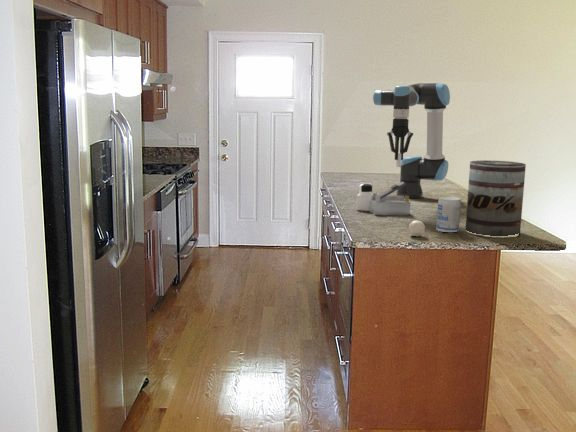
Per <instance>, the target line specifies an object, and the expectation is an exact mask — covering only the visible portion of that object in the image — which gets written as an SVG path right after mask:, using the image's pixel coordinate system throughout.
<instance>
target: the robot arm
mask: <svg viewBox="0 0 576 432" xmlns="http://www.w3.org/2000/svg"><path fill="white" fill-rule="evenodd" d="M372 100H373V104H374V105H375V106H381V107H382V106H391V107H392V106H393V111H392V112H393V113H392V117H393V119H392V128H391V130H390V131H389V132H387V133H386V135H387V136H388V141H389V145H390V147H389V148H390V152H392V153H394V160H395V161H396V163H395V164H396V165H395V166H396V168H400V175H399V179H400V180H399V183H401V182H404V183H405V184H406V185H405V186H403V187H401V188H400V189H398V190H396V195H395V196H404V199H405V196H409V199H420V198H423V197H424V192H423V188H422V185H421V180H426V181H427V180H428V181H436V182H437V181H442V182H443V180H445V178H446V176H447V174H448V171H449V161H448V160H446V157H445V155H444V154H443V139H444V137H443V132H444V131H443V130H444V127H443V126H444V111H445V110H446V109H447V106H448V105H449V104H450V100H451V93H450V89H449V87H448V85H447V84H445V83H439V82H438V83H437V82H434V83H432V82H428V83H427V82H426V83H422V82H420V83H414V84H408V85H396V86H395V87H394V89H386V90H384V89H383V90H382V89H380V90H378V89H377V90H375V91H374V93H373V97H372ZM416 105H419V106H420V105H421V106H422V105H423V108H424V110H425V111H426V153H425V155H423V157H422V155H421V156H420V155H419V156H418V155H416V156H405V157H404V154H405V153H407V152H408V150H409V146H410V142H411V139H412V138H413V136H414V133H413V132H411V131H410V128H409V122H410V121H409V117H410V107H414V106H416ZM393 136H394V137H395V138H394V139H393ZM406 136H407V137H406ZM405 137H406V138H405ZM405 139H406V141H405ZM394 140H395V141H394Z"/></svg>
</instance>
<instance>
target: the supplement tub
mask: <svg viewBox="0 0 576 432" xmlns="http://www.w3.org/2000/svg"><path fill="white" fill-rule="evenodd" d="M461 209H462V199H461V198H460V197H457V196H446V195H445V196H440V197H438V201H437V215H436V228H435V229H436V230H435V231H437V230H438V231H437V232H439V231H442V232H457V231H458V232H459V231H460V230H459V229H460V220H461ZM442 232H441V233H442ZM458 232H457V233H458Z"/></svg>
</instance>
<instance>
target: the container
mask: <svg viewBox="0 0 576 432" xmlns="http://www.w3.org/2000/svg"><path fill="white" fill-rule="evenodd" d="M358 192H359V193H358V194H356V200H355V201H356V204H355V207H356V208H355V210H356V211H367V212H369V203H370V200H372V196H373V184H370V183H361V184H359V189H358Z"/></svg>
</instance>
